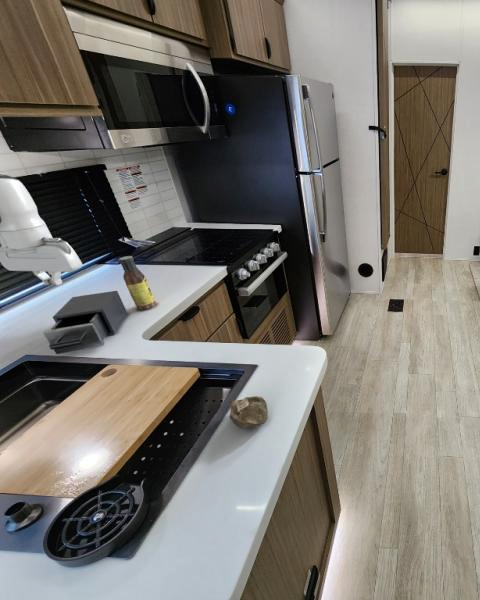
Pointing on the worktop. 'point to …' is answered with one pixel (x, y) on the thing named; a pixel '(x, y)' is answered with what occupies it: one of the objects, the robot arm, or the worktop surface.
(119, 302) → the gray drawer cabinet
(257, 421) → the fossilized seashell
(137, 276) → the sauce bottle
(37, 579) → the worktop surface
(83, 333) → the drawer
